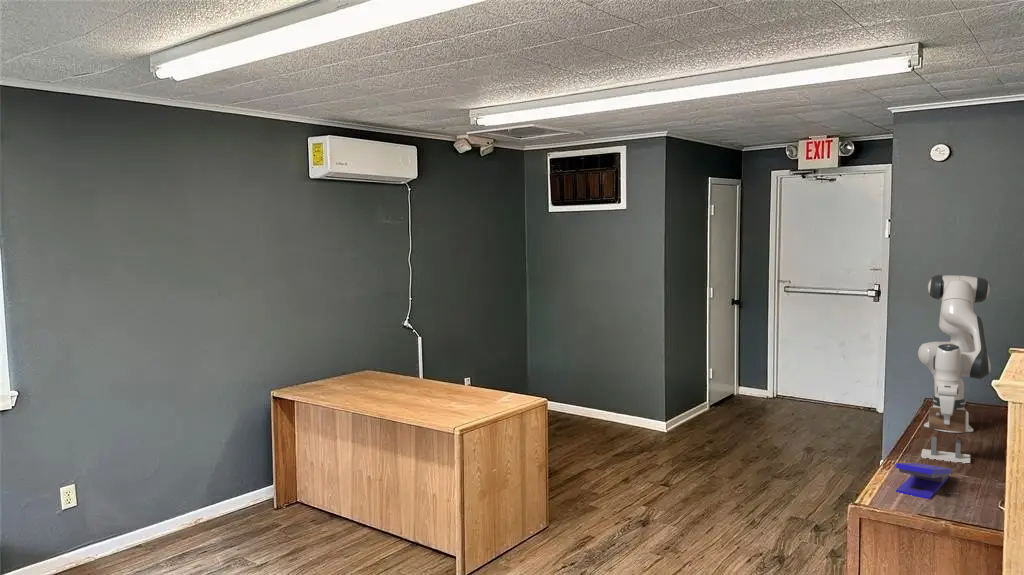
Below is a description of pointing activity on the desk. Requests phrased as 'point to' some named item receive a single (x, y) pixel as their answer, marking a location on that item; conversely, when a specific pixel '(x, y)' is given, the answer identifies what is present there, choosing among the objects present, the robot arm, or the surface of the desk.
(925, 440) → the desk surface
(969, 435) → the desk surface
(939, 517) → the desk surface
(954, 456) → the white and grey rack
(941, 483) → the blue stacked plate part
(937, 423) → the door panel
